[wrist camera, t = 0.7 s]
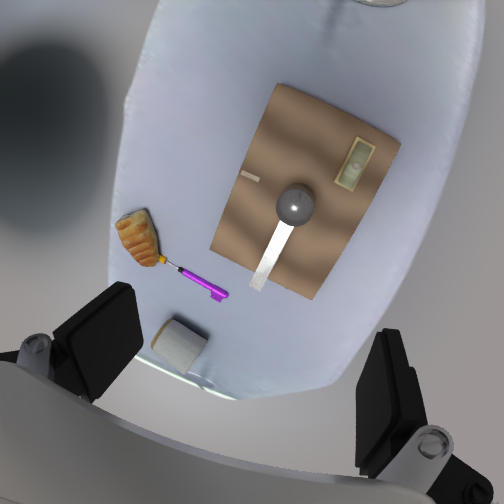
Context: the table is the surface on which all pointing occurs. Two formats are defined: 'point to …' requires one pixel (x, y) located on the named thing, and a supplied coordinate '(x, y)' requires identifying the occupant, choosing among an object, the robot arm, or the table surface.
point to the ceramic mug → (177, 345)
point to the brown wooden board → (311, 174)
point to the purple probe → (199, 281)
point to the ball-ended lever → (285, 226)
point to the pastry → (139, 237)
